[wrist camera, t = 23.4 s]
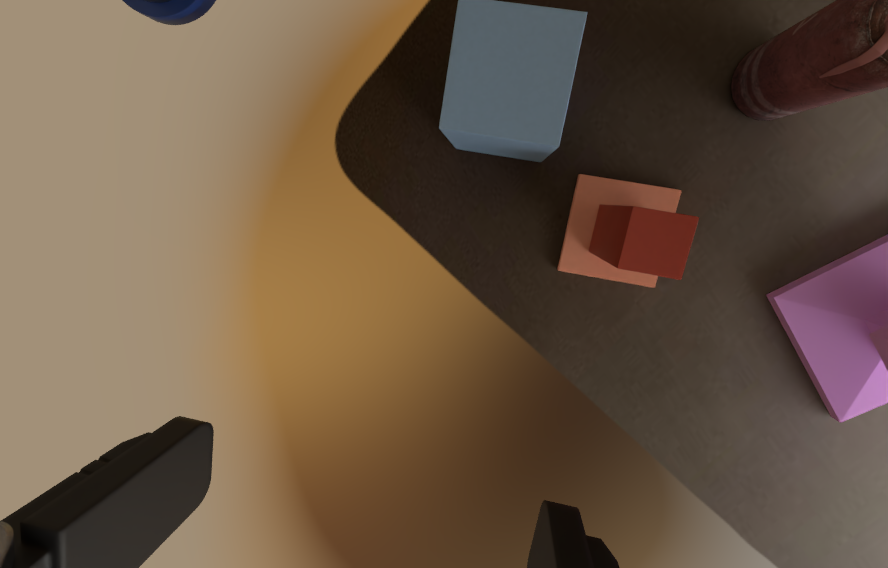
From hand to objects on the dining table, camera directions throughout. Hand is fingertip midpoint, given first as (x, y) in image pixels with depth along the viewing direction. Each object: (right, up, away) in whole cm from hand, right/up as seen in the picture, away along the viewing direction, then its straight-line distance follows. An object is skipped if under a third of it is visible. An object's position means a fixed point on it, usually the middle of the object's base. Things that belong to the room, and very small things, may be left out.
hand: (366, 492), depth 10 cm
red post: (+18, +10, +29) cm, 36 cm away
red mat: (+18, +10, +30) cm, 36 cm away
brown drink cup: (+29, +22, +26) cm, 45 cm away
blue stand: (+7, +21, +29) cm, 36 cm away
